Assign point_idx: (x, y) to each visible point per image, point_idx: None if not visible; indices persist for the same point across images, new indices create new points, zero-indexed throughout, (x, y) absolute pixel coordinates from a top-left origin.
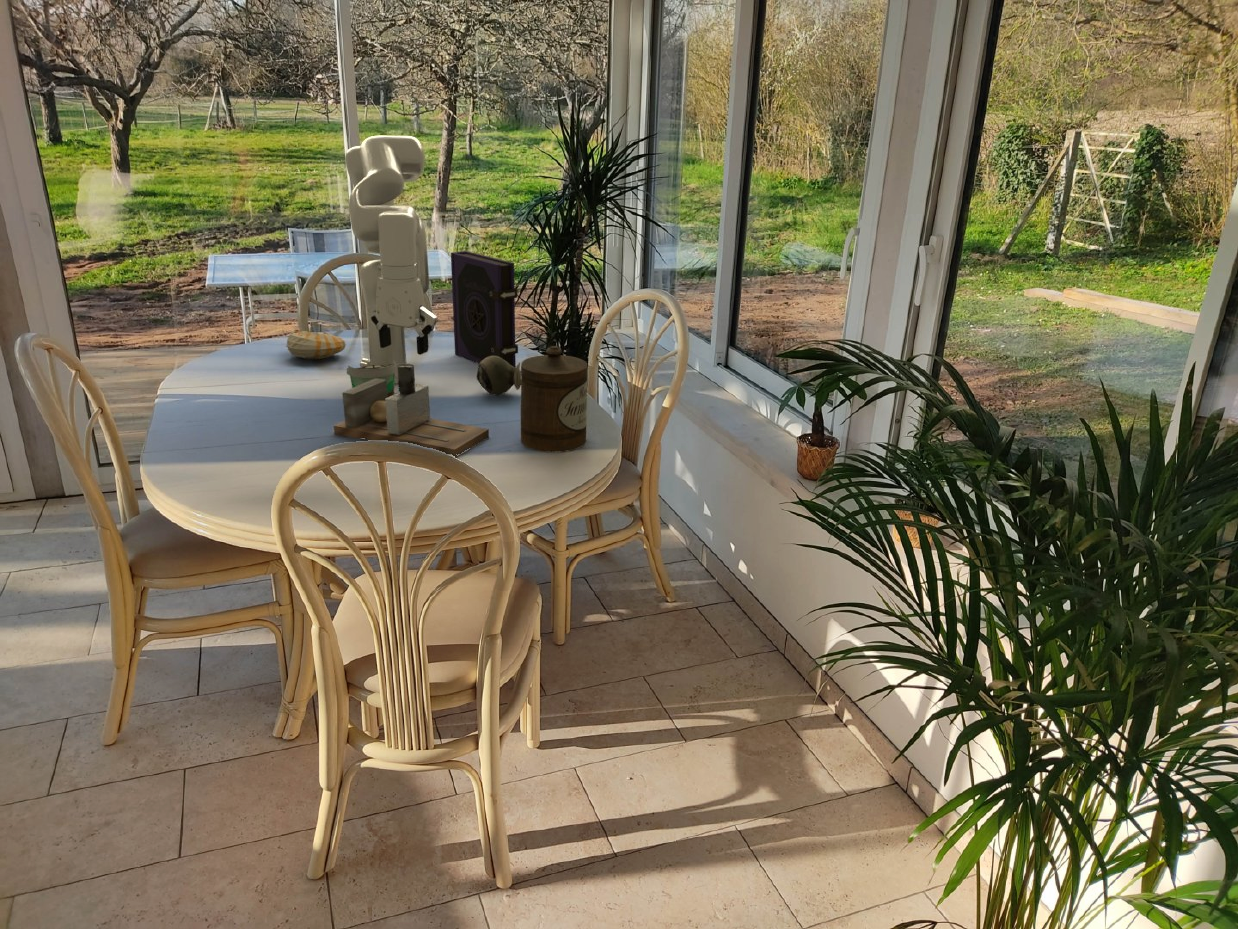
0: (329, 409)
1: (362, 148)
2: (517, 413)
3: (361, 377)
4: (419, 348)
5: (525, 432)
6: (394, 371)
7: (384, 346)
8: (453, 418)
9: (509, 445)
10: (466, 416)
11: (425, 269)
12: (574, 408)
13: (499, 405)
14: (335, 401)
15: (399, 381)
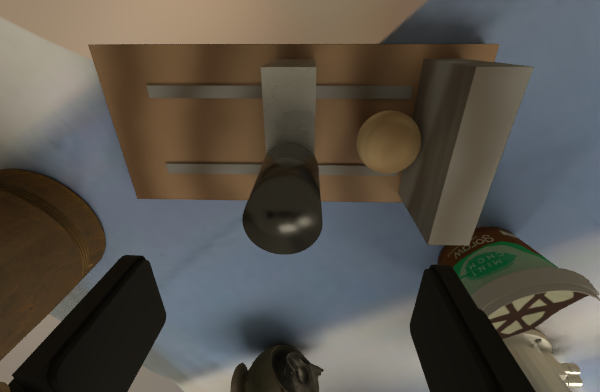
0: (564, 185)
1: None
2: (196, 301)
3: (531, 269)
4: (97, 283)
5: (24, 193)
6: None
7: (424, 280)
8: None
9: (81, 170)
10: (262, 260)
11: None
12: None
13: (247, 317)
14: (566, 229)
15: (299, 162)
